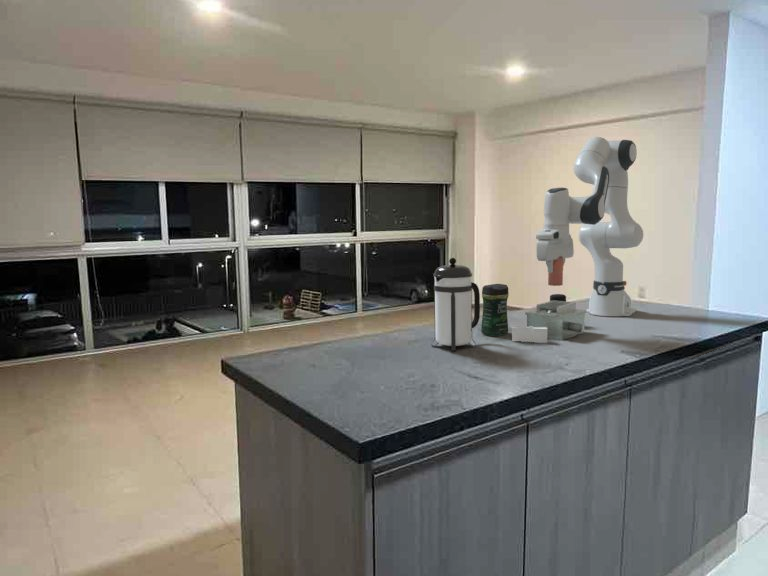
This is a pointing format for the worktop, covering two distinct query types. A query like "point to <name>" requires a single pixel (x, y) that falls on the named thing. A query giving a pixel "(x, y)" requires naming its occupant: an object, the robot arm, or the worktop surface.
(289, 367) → the worktop surface
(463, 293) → the coffee press
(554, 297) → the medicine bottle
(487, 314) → the coffee jar
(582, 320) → the pale green square box
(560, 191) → the robot arm
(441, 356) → the worktop surface
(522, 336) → the white stepped block
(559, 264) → the spout can
